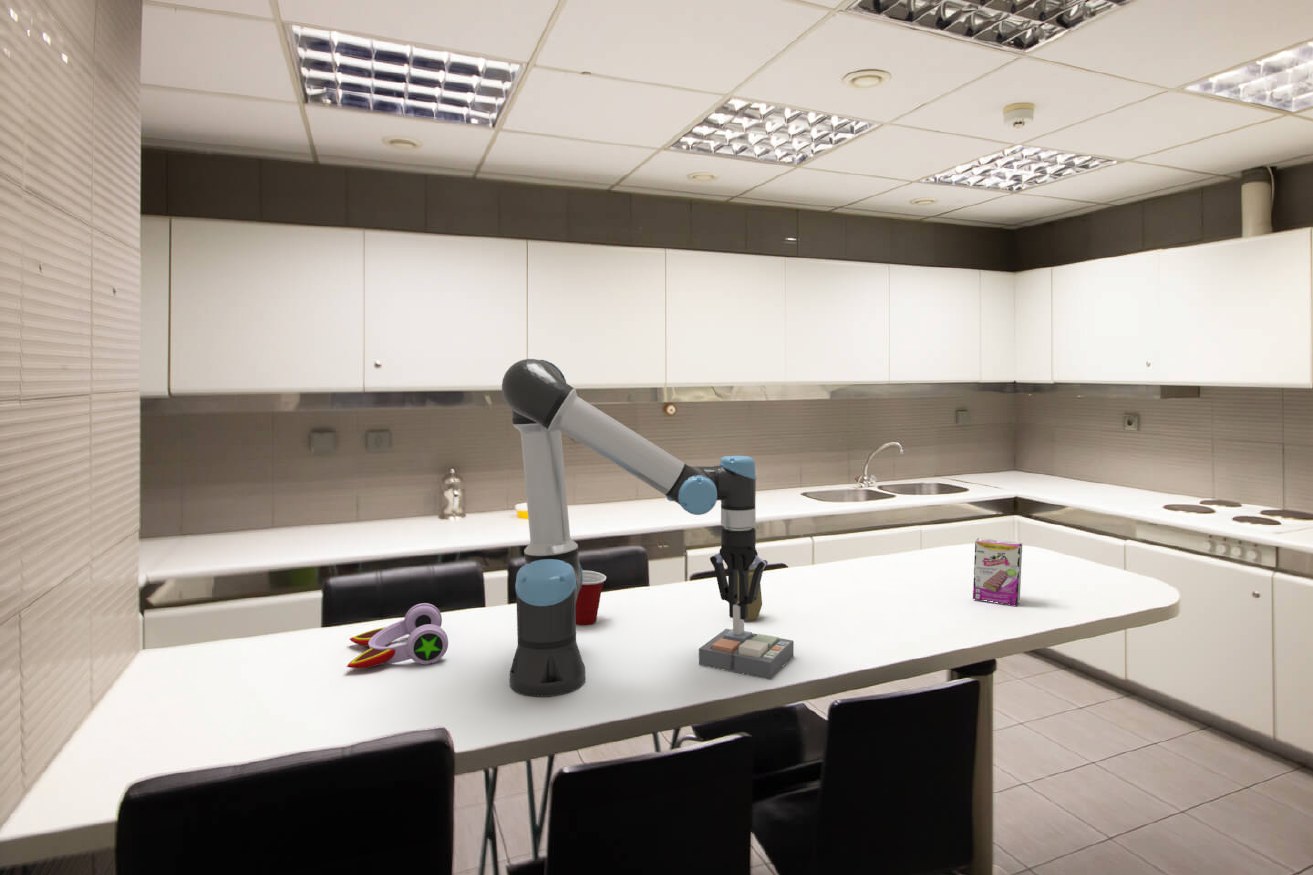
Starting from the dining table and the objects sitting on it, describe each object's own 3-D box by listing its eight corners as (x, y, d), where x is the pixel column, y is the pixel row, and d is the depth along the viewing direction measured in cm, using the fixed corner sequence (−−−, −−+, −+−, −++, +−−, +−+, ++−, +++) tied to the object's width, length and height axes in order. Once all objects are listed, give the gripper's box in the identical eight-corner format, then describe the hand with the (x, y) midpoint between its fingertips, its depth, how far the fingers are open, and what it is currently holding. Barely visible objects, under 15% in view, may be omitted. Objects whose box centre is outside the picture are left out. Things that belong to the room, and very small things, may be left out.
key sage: (770, 657, 155) (770, 643, 155) (750, 653, 158) (750, 640, 157) (778, 650, 159) (778, 637, 159) (758, 646, 162) (758, 633, 161)
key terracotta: (731, 662, 153) (731, 648, 153) (711, 658, 155) (711, 644, 155) (740, 655, 157) (740, 641, 157) (720, 651, 159) (720, 638, 159)
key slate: (743, 652, 158) (743, 638, 158) (724, 648, 161) (724, 635, 160) (751, 645, 162) (751, 632, 162) (732, 641, 165) (732, 628, 164)
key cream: (759, 664, 150) (759, 650, 149) (738, 660, 152) (738, 646, 152) (767, 657, 154) (767, 643, 153) (747, 653, 156) (747, 639, 156)
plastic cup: (600, 630, 176) (599, 581, 175) (557, 627, 179) (556, 579, 178) (612, 616, 187) (611, 570, 186) (571, 613, 189) (570, 568, 188)
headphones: (450, 627, 157) (350, 628, 150) (446, 672, 157) (345, 675, 150) (442, 601, 175) (352, 601, 168) (438, 641, 176) (348, 643, 168)
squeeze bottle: (754, 625, 180) (754, 552, 178) (724, 619, 184) (724, 549, 182) (767, 615, 186) (767, 546, 185) (738, 610, 191) (738, 542, 189)
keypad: (770, 679, 147) (770, 660, 147) (698, 664, 155) (698, 646, 155) (793, 656, 159) (793, 638, 159) (726, 643, 167) (726, 626, 167)
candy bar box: (972, 600, 197) (974, 540, 196) (975, 596, 202) (977, 537, 200) (1018, 607, 191) (1020, 545, 190) (1020, 602, 196) (1022, 542, 194)
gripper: (772, 526, 159) (772, 632, 161) (718, 521, 166) (718, 622, 168) (759, 533, 153) (760, 643, 155) (703, 527, 159) (704, 633, 161)
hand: (738, 632), depth 161 cm, fingers closed
